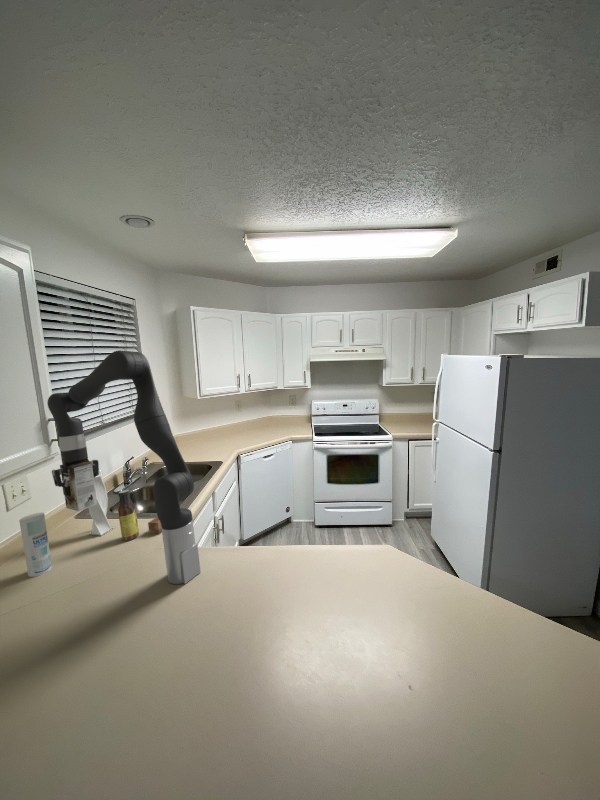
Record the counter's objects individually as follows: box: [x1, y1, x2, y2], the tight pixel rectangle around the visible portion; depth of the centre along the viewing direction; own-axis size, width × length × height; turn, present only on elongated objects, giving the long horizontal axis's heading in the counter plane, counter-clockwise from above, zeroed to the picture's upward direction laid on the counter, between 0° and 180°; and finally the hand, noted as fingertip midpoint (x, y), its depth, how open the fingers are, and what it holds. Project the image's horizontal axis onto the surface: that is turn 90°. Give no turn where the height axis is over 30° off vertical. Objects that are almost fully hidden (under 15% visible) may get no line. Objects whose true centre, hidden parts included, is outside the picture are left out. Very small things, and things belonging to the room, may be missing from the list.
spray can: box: [19, 512, 52, 578], centre depth 103 cm, size 6×6×20 cm
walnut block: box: [147, 516, 162, 535], centre depth 126 cm, size 5×5×5 cm
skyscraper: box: [88, 469, 114, 537], centre depth 129 cm, size 8×8×28 cm
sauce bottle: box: [117, 489, 140, 542], centre depth 122 cm, size 7×6×20 cm
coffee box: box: [59, 462, 97, 512], centre depth 107 cm, size 9×6×16 cm
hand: (80, 492), depth 107 cm, fingers closed on coffee box, 6 cm apart
